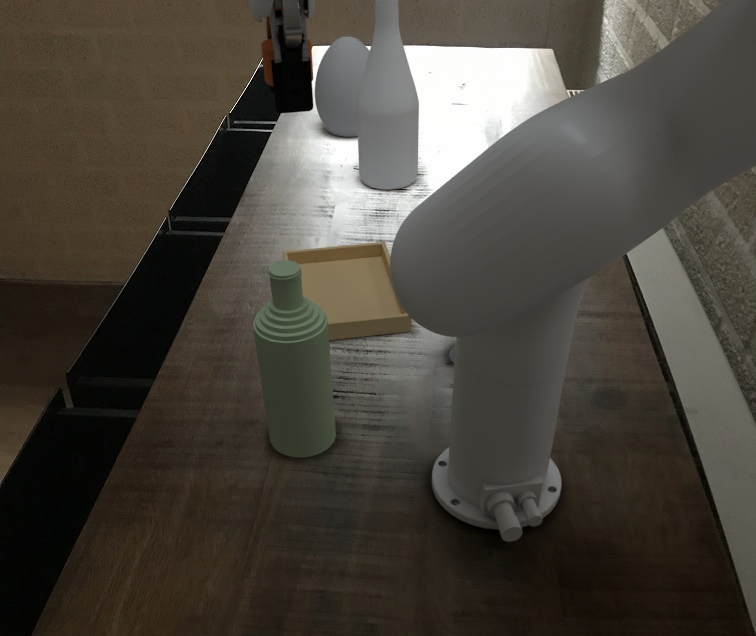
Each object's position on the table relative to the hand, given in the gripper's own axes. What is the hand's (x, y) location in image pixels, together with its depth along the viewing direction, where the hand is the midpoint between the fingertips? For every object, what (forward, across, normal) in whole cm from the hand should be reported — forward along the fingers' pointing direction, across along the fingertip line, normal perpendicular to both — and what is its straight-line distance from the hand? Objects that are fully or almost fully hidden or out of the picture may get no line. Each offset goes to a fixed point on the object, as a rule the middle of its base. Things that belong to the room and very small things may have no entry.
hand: (291, 98), depth 69 cm
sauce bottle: (+30, +9, -2) cm, 32 cm away
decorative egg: (+31, -75, +17) cm, 83 cm away
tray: (+31, -17, +6) cm, 36 cm away
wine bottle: (+31, -52, +19) cm, 64 cm away
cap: (-2, 0, 0) cm, 2 cm away
